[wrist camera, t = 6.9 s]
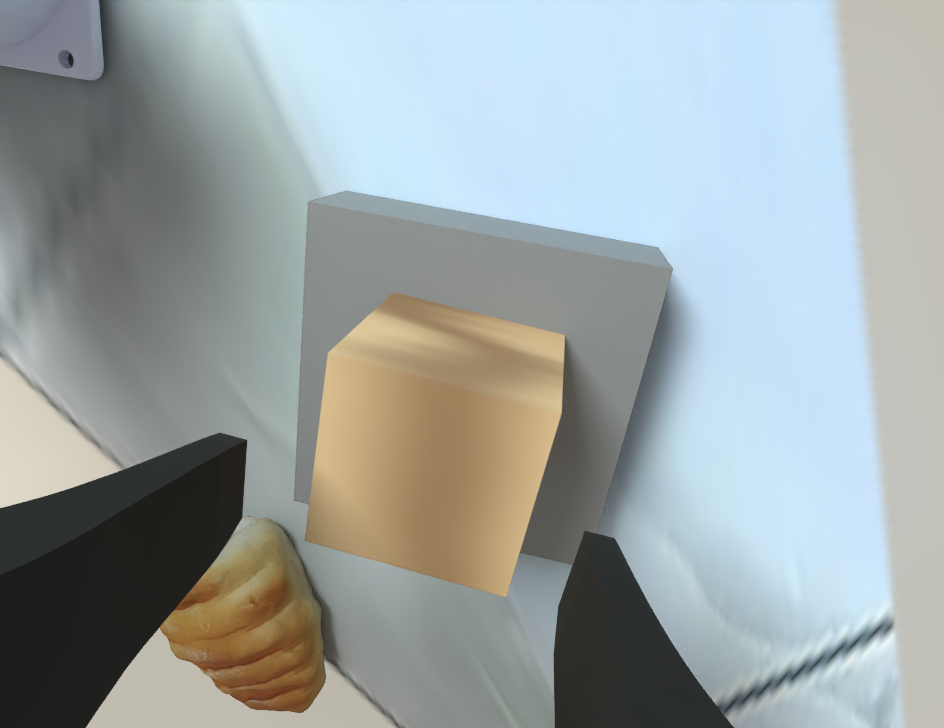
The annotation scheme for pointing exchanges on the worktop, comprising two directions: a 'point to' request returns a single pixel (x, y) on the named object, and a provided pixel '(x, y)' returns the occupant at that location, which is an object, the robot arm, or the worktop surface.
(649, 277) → the gray block
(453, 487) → the oak block
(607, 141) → the worktop surface
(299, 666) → the pastry
